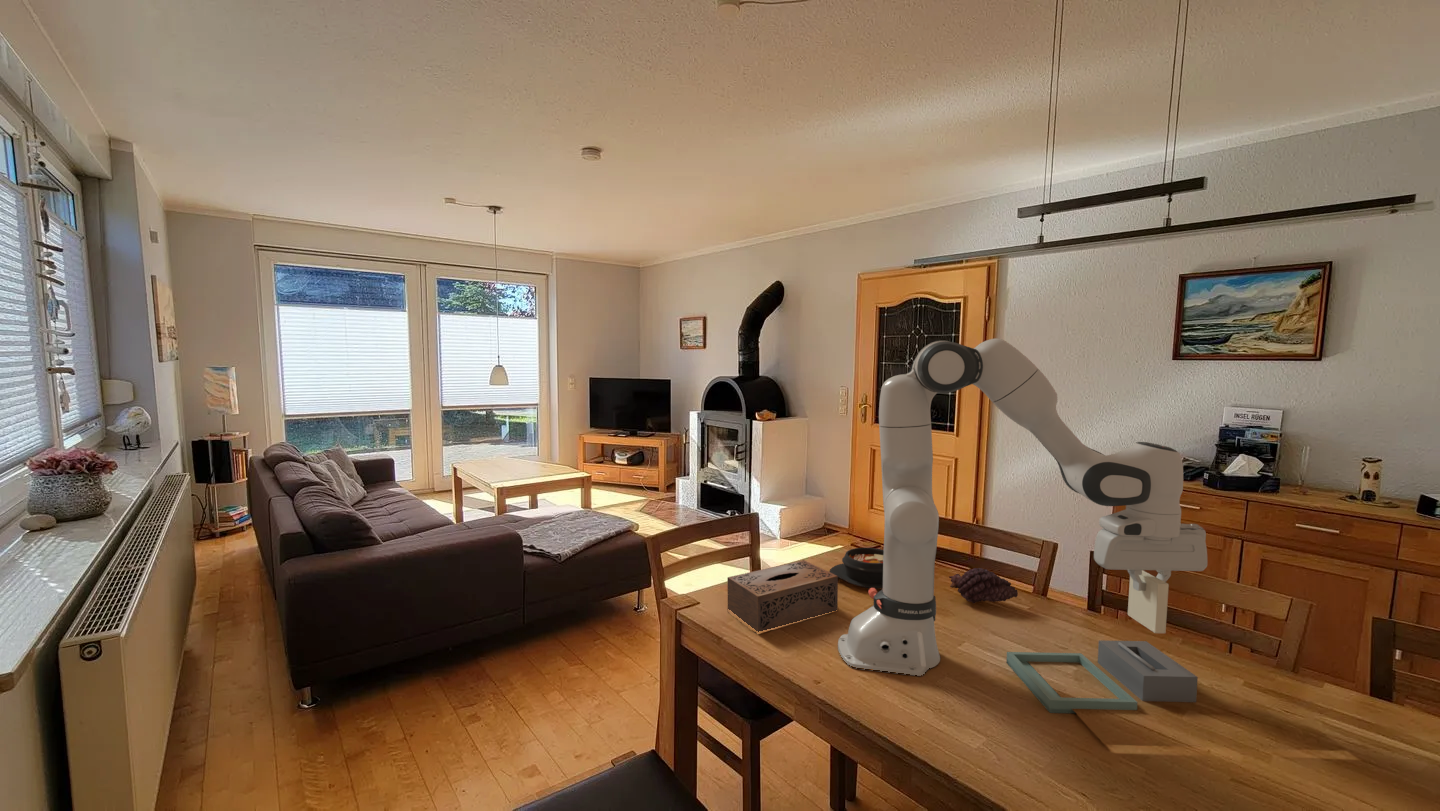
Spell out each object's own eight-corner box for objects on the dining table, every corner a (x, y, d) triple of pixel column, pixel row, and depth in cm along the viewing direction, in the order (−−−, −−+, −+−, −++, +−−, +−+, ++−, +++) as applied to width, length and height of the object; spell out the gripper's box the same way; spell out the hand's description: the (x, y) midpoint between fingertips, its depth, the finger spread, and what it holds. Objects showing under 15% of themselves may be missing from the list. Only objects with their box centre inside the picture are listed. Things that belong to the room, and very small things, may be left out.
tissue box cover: (803, 593, 164) (803, 560, 163) (837, 612, 152) (837, 576, 151) (727, 613, 151) (727, 577, 150) (757, 636, 139) (757, 596, 138)
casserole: (819, 583, 171) (820, 556, 170) (842, 564, 186) (842, 540, 186) (903, 602, 157) (903, 572, 157) (920, 580, 173) (920, 553, 172)
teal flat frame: (1049, 712, 107) (1050, 700, 107) (1006, 662, 125) (1006, 651, 125) (1136, 714, 106) (1137, 702, 106) (1080, 664, 124) (1081, 653, 124)
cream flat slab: (1154, 633, 111) (1158, 583, 110) (1127, 614, 119) (1130, 568, 118) (1165, 633, 111) (1168, 584, 110) (1137, 615, 119) (1140, 569, 118)
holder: (1142, 705, 109) (1143, 672, 109) (1097, 666, 123) (1098, 637, 123) (1195, 706, 109) (1197, 673, 108) (1144, 667, 123) (1146, 638, 122)
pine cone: (1019, 605, 155) (1020, 569, 154) (1014, 618, 147) (1015, 581, 146) (951, 590, 165) (951, 557, 164) (943, 602, 156) (944, 567, 156)
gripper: (1193, 519, 116) (1188, 584, 117) (1091, 518, 117) (1087, 582, 118) (1218, 528, 110) (1214, 597, 111) (1110, 526, 111) (1106, 595, 112)
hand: (1147, 590), depth 114 cm, fingers closed on cream flat slab, 2 cm apart
